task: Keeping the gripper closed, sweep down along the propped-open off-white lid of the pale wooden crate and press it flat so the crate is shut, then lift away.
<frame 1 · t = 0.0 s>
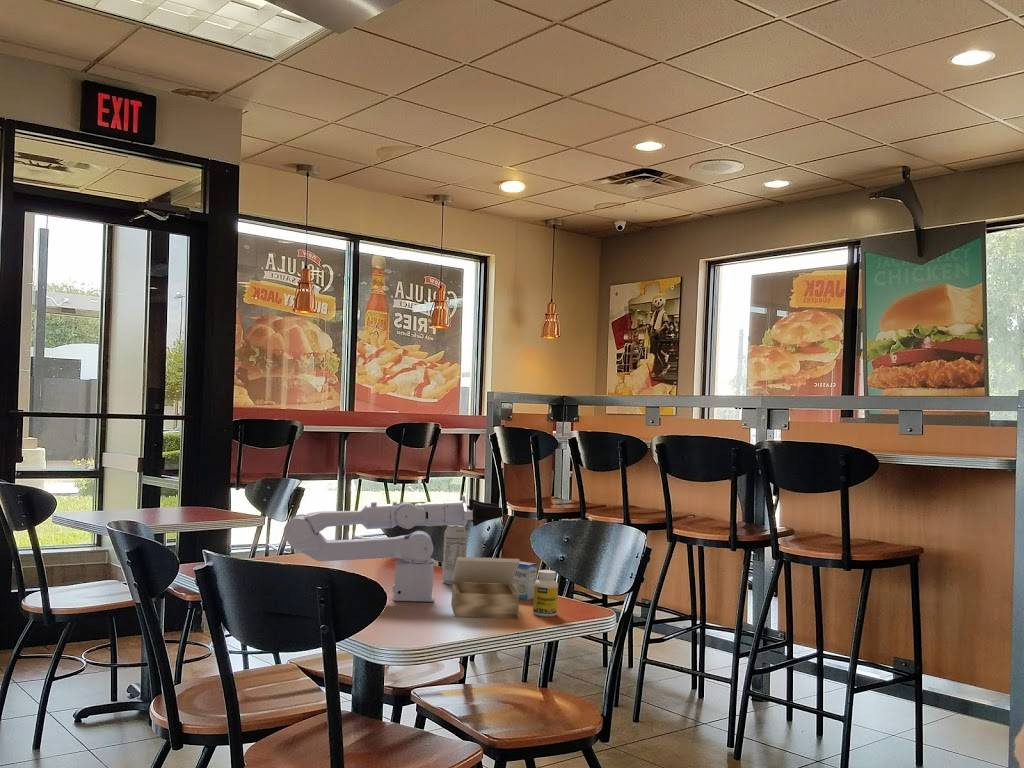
hand: (500, 510, 228), 22 cm above the table, tool horizontal, fingers open, 7 cm apart
crate: (483, 610, 215), on the table
medicine box: (517, 597, 234), on the table
supplement bottle: (544, 615, 214), on the table
lid: (485, 570, 216), point 9 cm above the table, hinge at 30.0°
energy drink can: (453, 583, 249), on the table
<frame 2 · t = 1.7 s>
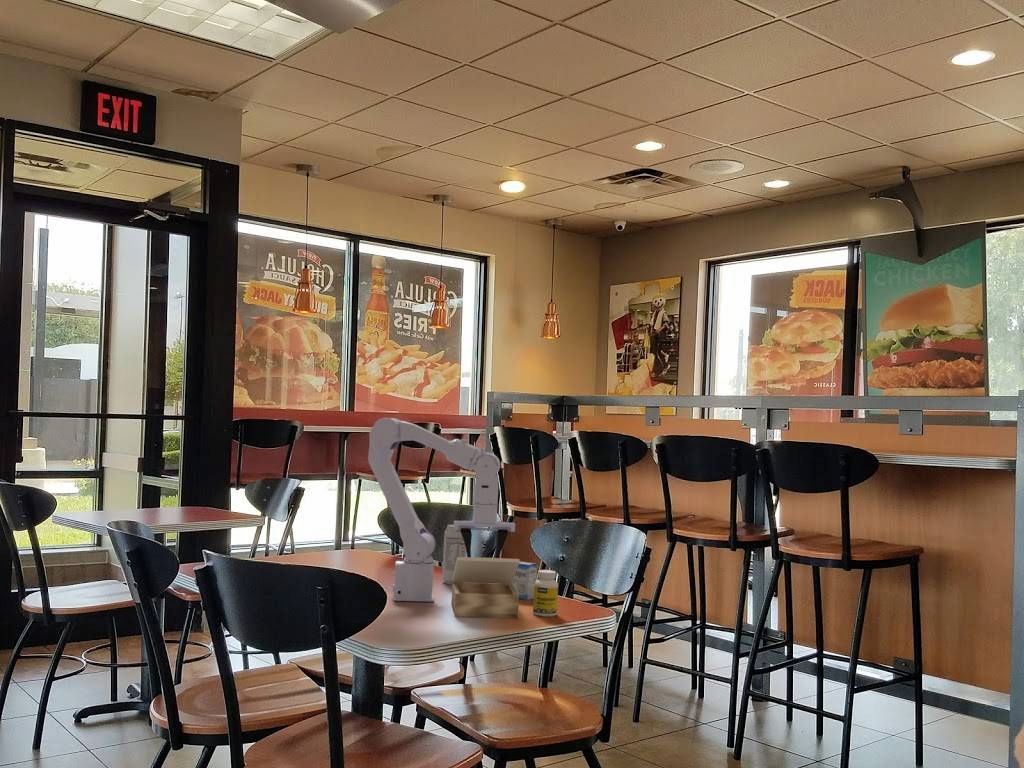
hand: (482, 561, 224), 10 cm above the table, tool pointing down, fingers open, 6 cm apart
nothing on the table moved.
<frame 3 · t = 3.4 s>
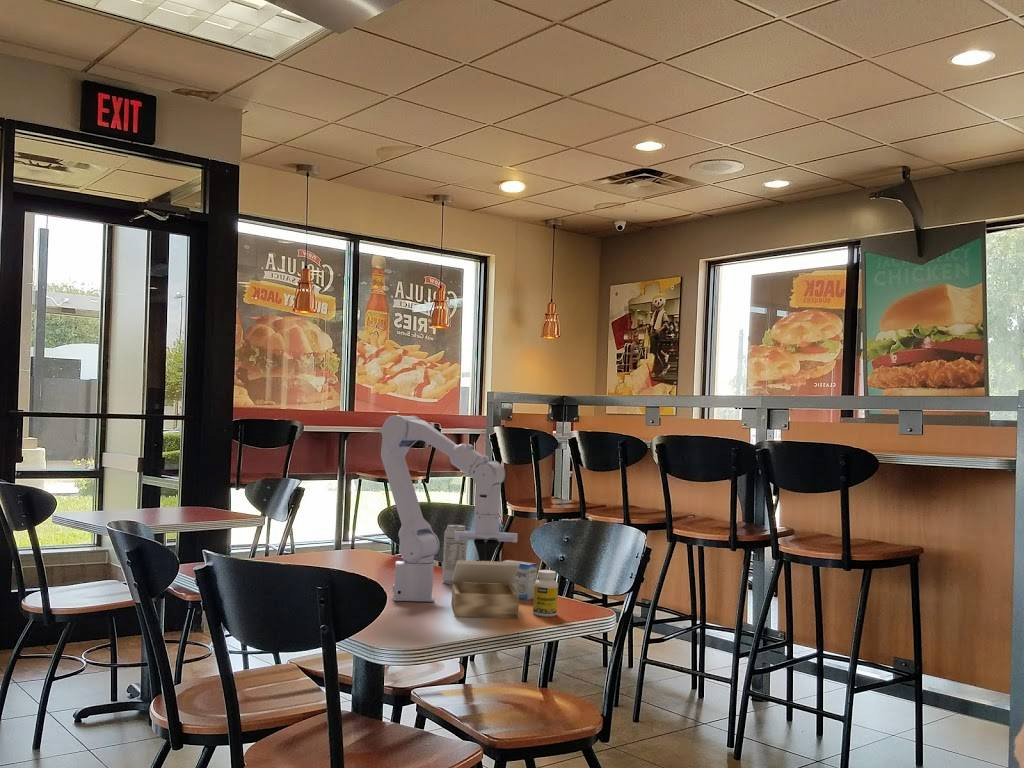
hand: (484, 572, 219), 8 cm above the table, tool pointing down, fingers closed, pressing on lid
lid: (485, 572, 216), point 9 cm above the table, hinge at 26.6°, touching gripper
everything else where it was.
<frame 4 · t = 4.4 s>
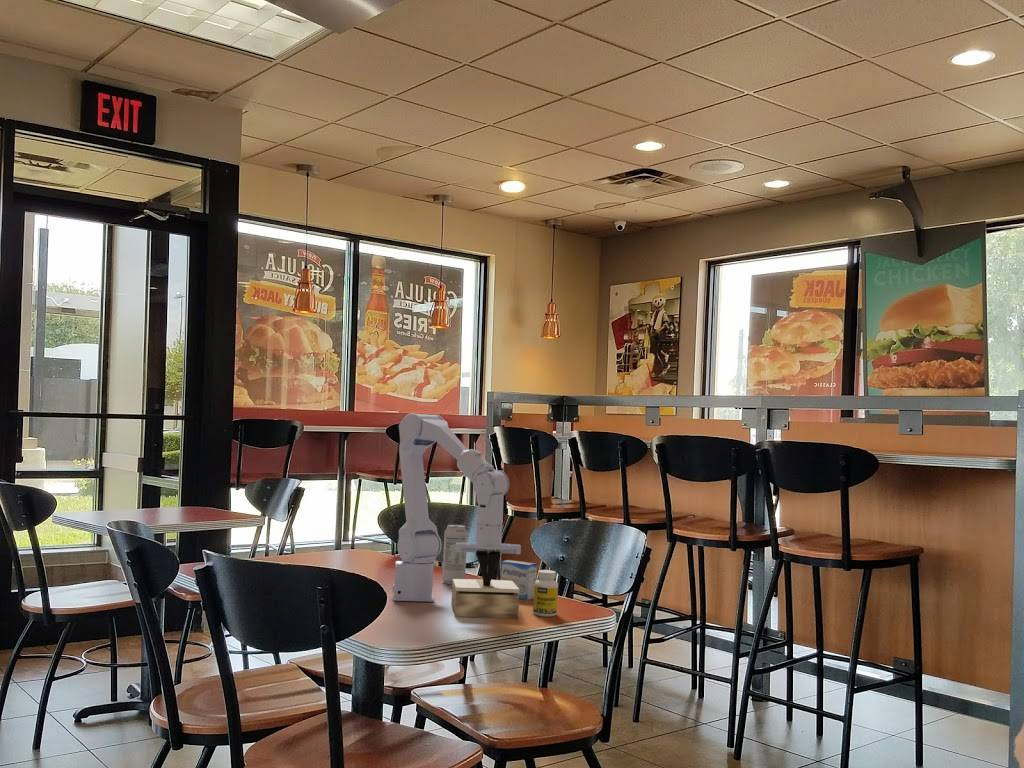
hand: (486, 585, 212), 6 cm above the table, tool pointing down, fingers closed, pressing on lid
lid: (484, 585, 215), point 6 cm above the table, hinge at 2.3°, touching gripper
everything else where it was.
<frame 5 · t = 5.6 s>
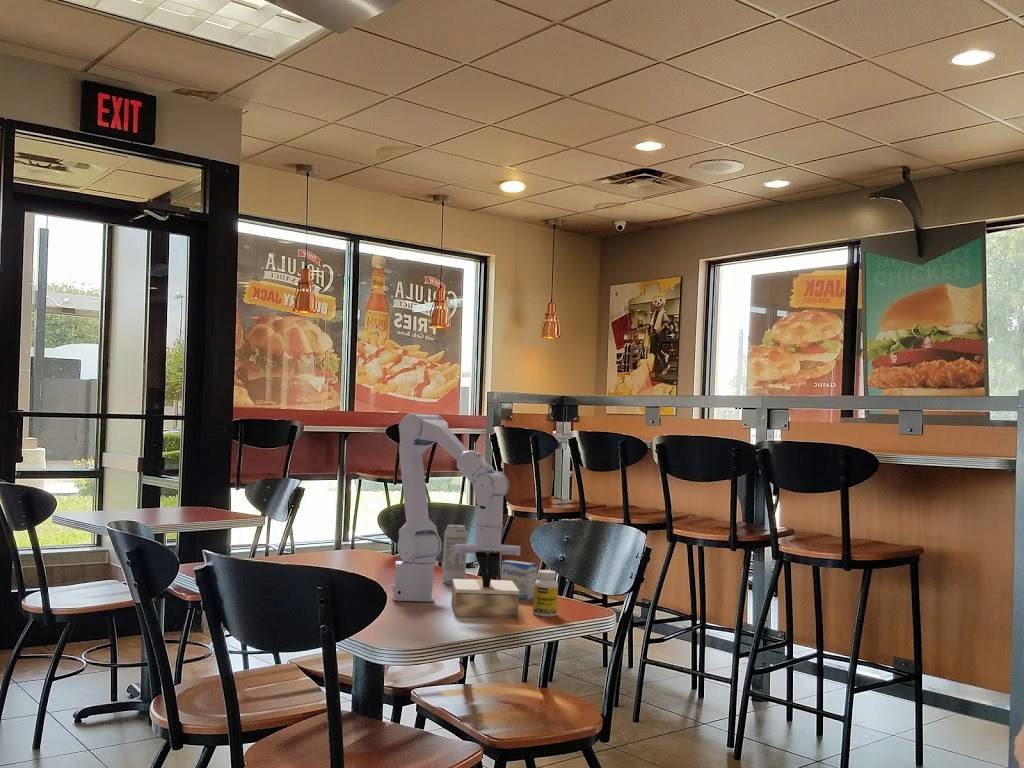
hand: (486, 586, 212), 6 cm above the table, tool pointing down, fingers closed
lid: (484, 586, 215), point 6 cm above the table, hinge at 0.7°
everything else where it was.
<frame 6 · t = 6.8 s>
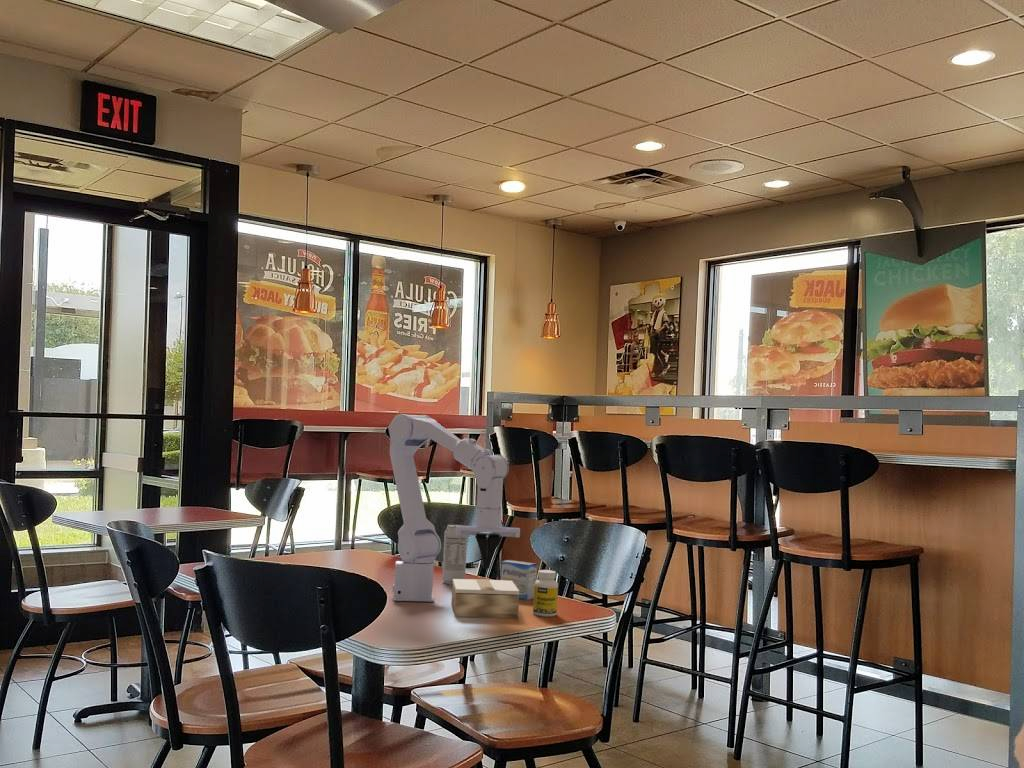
hand: (485, 567, 214), 10 cm above the table, tool pointing down, fingers closed
nothing on the table moved.
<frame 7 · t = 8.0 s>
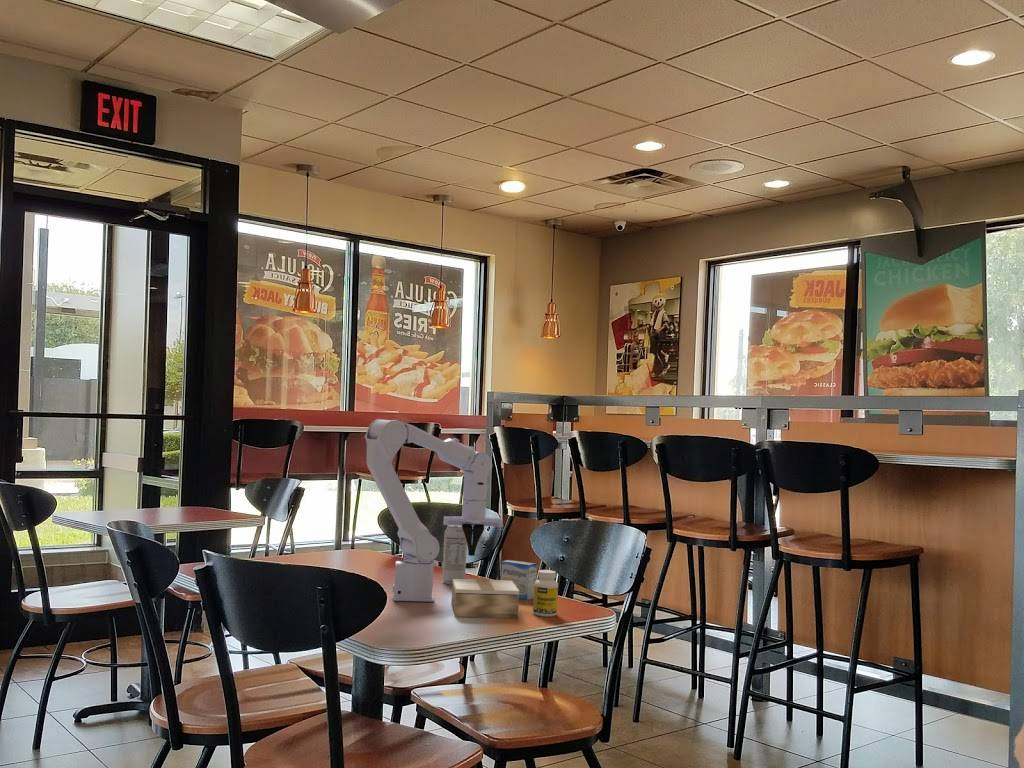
hand: (471, 555, 233), 10 cm above the table, tool pointing down, fingers closed
nothing on the table moved.
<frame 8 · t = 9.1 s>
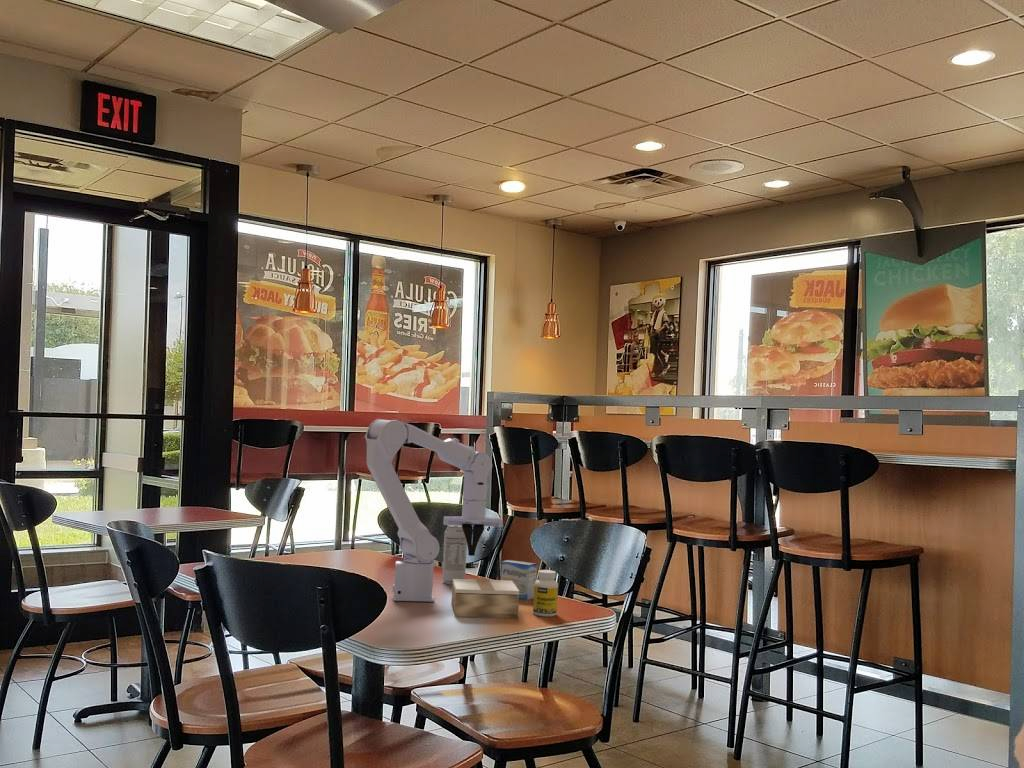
hand: (471, 555, 233), 10 cm above the table, tool pointing down, fingers closed
nothing on the table moved.
at the end: lid at +1° (first picture: +30°); supplement bottle moved 0.2 cm from its start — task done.
